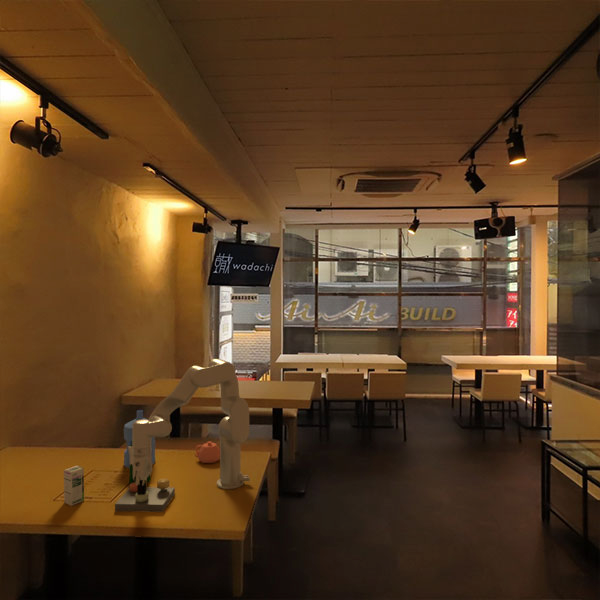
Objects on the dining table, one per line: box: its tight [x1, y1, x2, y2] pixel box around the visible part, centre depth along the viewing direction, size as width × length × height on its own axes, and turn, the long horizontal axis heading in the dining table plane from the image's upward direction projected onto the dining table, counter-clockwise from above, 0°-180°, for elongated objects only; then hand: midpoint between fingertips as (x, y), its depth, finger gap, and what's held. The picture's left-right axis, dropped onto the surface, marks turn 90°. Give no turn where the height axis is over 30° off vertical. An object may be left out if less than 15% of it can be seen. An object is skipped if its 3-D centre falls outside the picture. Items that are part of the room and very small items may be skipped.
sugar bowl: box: [194, 441, 220, 464], centre depth 237 cm, size 12×14×10 cm
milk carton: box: [128, 441, 152, 486], centre depth 209 cm, size 9×9×20 cm
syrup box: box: [63, 465, 85, 507], centre depth 190 cm, size 6×6×14 cm
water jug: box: [123, 409, 156, 469], centre depth 232 cm, size 16×16×28 cm
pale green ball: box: [136, 491, 149, 502], centre depth 185 cm, size 5×5×5 cm
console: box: [114, 486, 176, 513], centre depth 190 cm, size 20×16×3 cm
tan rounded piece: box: [156, 477, 170, 492], centre depth 194 cm, size 5×5×5 cm
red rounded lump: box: [129, 482, 137, 492], centre depth 194 cm, size 5×5×5 cm
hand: (141, 493), depth 185 cm, fingers closed
